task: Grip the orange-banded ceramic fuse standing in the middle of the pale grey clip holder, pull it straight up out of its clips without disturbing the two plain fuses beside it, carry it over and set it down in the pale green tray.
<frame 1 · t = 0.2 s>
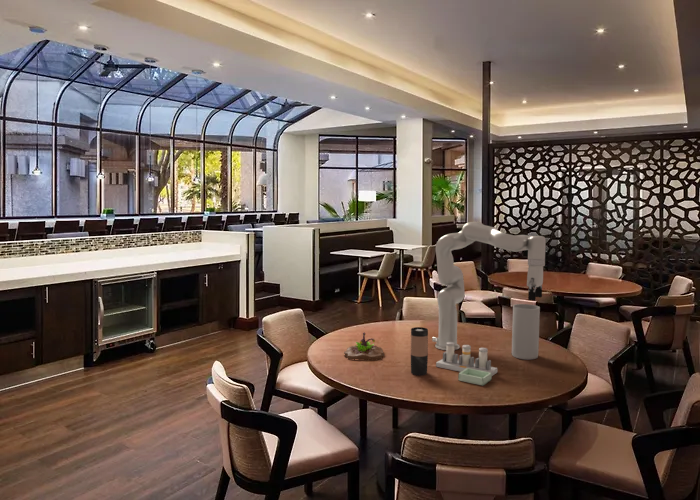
hand: (535, 298, 248), 31 cm above the table, tool pointing down, fingers open, 9 cm apart
plant: (364, 355, 266), on the table
fuse marked: (466, 365, 242), point 2 cm above the table, touching holder
tray: (474, 379, 228), on the table
cylinder vase: (524, 356, 262), on the table
fuse right: (482, 368, 237), point 2 cm above the table, touching holder
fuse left: (450, 362, 247), point 2 cm above the table, touching holder
travel mug: (419, 373, 237), on the table
holder: (466, 369, 242), on the table
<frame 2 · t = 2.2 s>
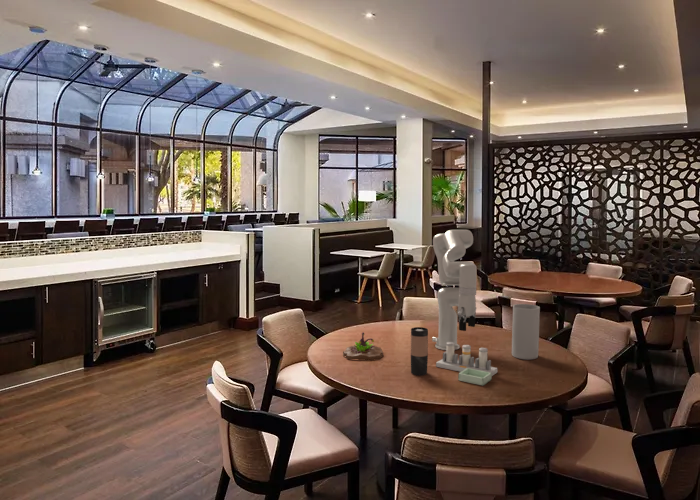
hand: (467, 328, 240), 19 cm above the table, tool pointing down, fingers open, 9 cm apart
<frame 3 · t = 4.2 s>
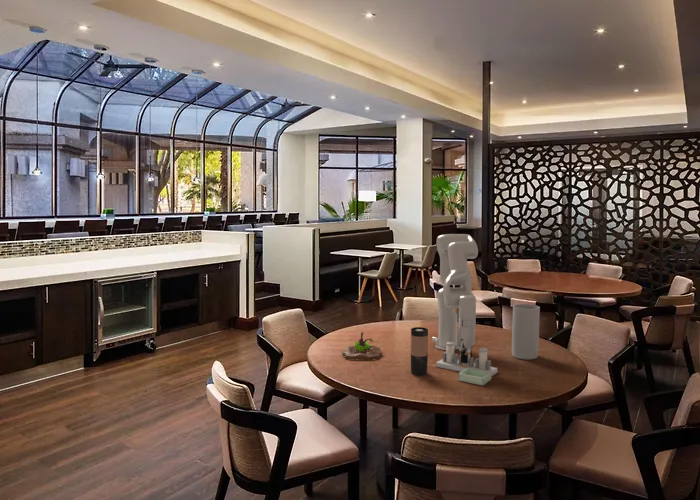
hand: (466, 361, 242), 4 cm above the table, tool pointing down, fingers closed on fuse marked, 3 cm apart
fuse marked: (466, 365, 242), point 2 cm above the table, touching gripper, holder
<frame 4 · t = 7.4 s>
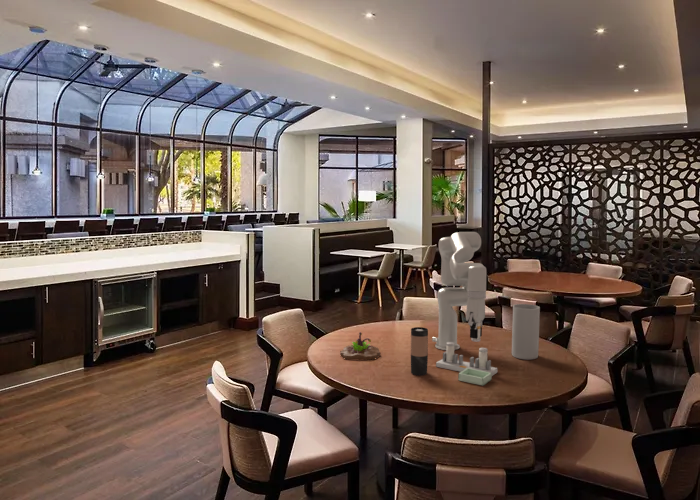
hand: (475, 336, 226), 19 cm above the table, tool pointing down, fingers closed on fuse marked, 3 cm apart
fuse marked: (475, 340, 226), point 17 cm above the table, touching gripper
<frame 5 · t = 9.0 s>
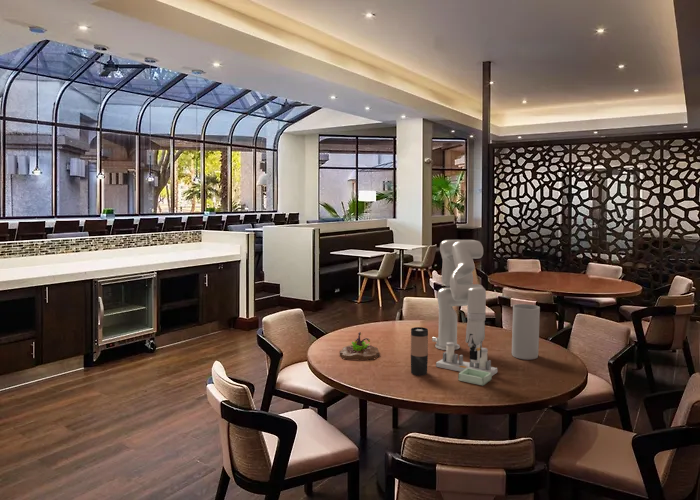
hand: (475, 357, 227), 10 cm above the table, tool pointing down, fingers closed on fuse marked, 3 cm apart
fuse marked: (475, 361, 227), point 8 cm above the table, touching gripper
when the fingers open (4 cm above the table, at t = 10.5 s): fuse marked drops 1 cm, resting on tray.
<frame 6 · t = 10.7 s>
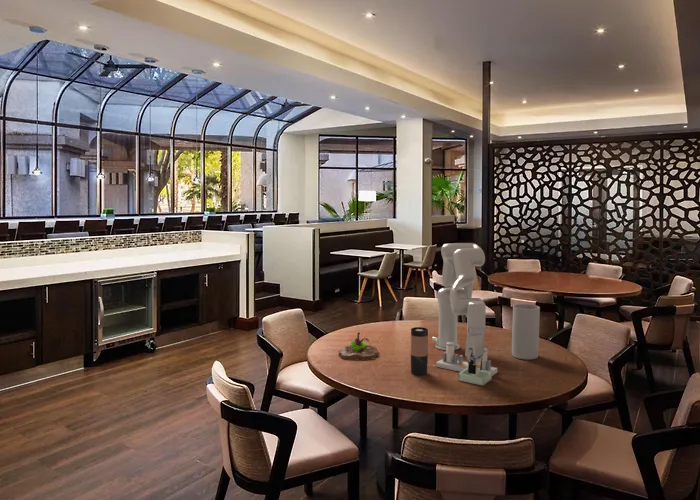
hand: (475, 371, 228), 4 cm above the table, tool pointing down, fingers open, 5 cm apart
fuse marked: (475, 378, 228), point 1 cm above the table, touching tray
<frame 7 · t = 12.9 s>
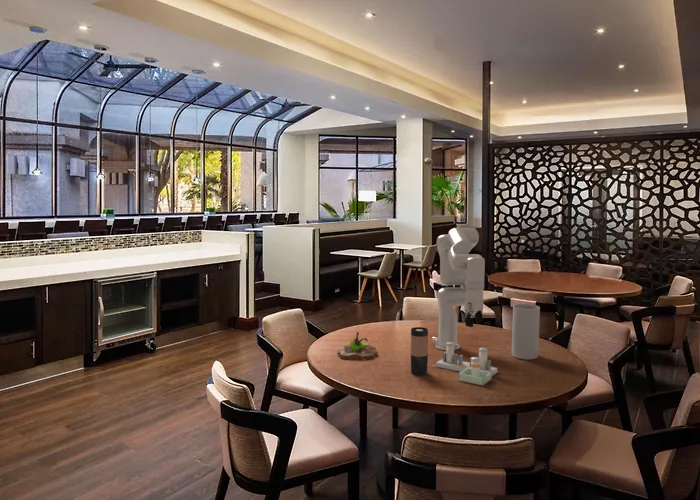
hand: (473, 324, 230), 23 cm above the table, tool pointing down, fingers open, 9 cm apart
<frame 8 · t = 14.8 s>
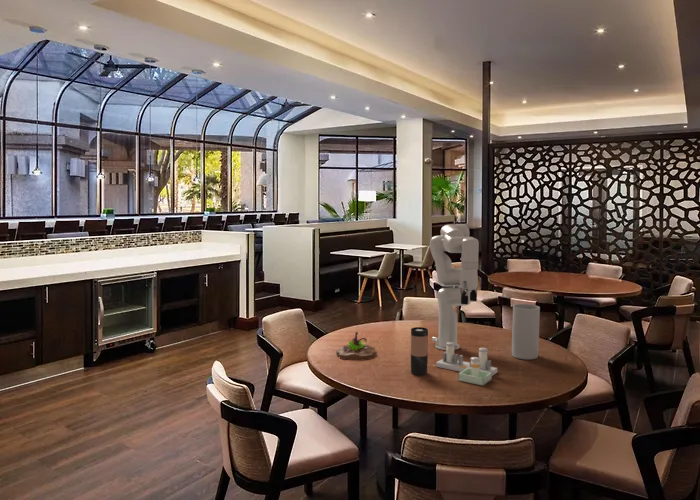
hand: (468, 302, 243), 30 cm above the table, tool pointing down, fingers open, 9 cm apart
at the end: fuse marked inside the target area on the tray (0.0 cm from its centre), point 0.6 cm above the tray's base; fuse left moved 0.0 cm from its start; fuse right moved 0.0 cm from its start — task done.
